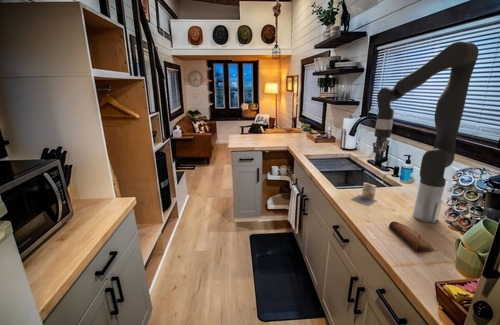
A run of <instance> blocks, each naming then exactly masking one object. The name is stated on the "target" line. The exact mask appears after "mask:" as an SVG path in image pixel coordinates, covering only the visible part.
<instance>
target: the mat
mask: <svg viewBox="0 0 500 325" xmlns="http://www.w3.org/2000/svg"><path fill="white" fill-rule="evenodd" d="M350 201H353V202H355V203H357V204H361V205H363V206H366V207H369V206H371V205H373V204H374V203H377V202H378V199H377V200H376V199H374V200H370V199H367V198H365V197H362V194H358V195H357V196H355V197H353V198H351V199H350Z"/></svg>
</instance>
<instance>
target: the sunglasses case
mask: <svg viewBox="0 0 500 325" xmlns="http://www.w3.org/2000/svg"><path fill="white" fill-rule="evenodd" d="M388 227H389V229H391V230H393V232H395V233H396V234H398V235H399V236H400V238H402V239H403V240H404V241H405V242H406V243H407V244H408V245H409V246H410V247H411V248H412V249H413V250H415V251H416V252H417V253H418V254H420V253H432V252H436V251H435V249H434V248H433V246H432V245H430V243H429V242H427V240H425V238H424V237H422V236H421V234H420V233H418V232H417V231H416V230H414V229H413V228H411V227H409V226H407V225H405V224H403V223H400V222H397V221H395V220H393V221H391V222H389V225H388Z"/></svg>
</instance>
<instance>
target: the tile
mask: <svg viewBox="0 0 500 325" xmlns="http://www.w3.org/2000/svg"><path fill="white" fill-rule="evenodd" d="M362 184H363V185H362V193H361V195H362V197H365V198H367V199H370V200H375V194H376V189H377V185H375V184H372V183H369V182H363V183H362Z"/></svg>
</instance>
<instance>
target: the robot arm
mask: <svg viewBox="0 0 500 325" xmlns="http://www.w3.org/2000/svg"><path fill="white" fill-rule="evenodd" d="M478 57H479V47H478V45H476V43H473V42H471V41H470V42H469V41H468V42H467V41H456V42H453V43H451V44H450V45H449V44H448V46H447V47H445V48H444V49H442V50H441V51H440V52H439V53H438V54H437V55H435V56H434V57H432V58H431V59H430V60H428V61H427V62H426V63H424V64H423V65H422V66H420V67H418V68H417V69H415V70H414V71H412V72H410V73H409V74H407V75H405V76H404V77H402V78H400V79H399V80H397V82H396V84H395V85H393V86H392V87H382V88H381V89H379V91H378V92H377V96H376V101H377V102H376V103H377V109H378V112H377V119H376V123H375V129H374V137H376V140H375V142H373V143H372V149H373V153H375V154H374V155H375V156H374V160H375V161H378V162H379V161H380V160H383V159H384V155H385V152H386V151H387V149H388V146H389V143H390V139H389V138H391V136H392V130H393V129H392V128H393V123H394V122H393V119H394V113H395V110H394V107H391V103H392V102H393V103H394V102H396V101H398V100H400V99H402V97H403V96H405V95H406V94H408V93H410V92H412V91H413V90H415V89H418V88H419V87H420V86H422V85H423V84H424V83H425V82H427V81H428V80H429V79H430V78H432V77H434V76H436V74H439V73H441V72H444V71H445V70H448V69H450V72H449V77H448V81H447V84H446V85H445V87H444V89H443V90H442V92H441V94H440V95H439V98H438V99H437V103H436V106H435V111H434V125H435V131H436V132H435V133H436V138H435V142H434V146H433V148H432V149H429V150H427V151H425V152H424V154H423V155H422V158H421V163H420V168H419V178H420V180H419V185H418V190H417V194H416V199H415V202H414V203H415V204H414V209H413V212H412V216H413V217H414V218H415V219H417V220H419V221H423V222H424V223H425V222H426V223H431V224H435V223H436V222H437V221H439V220H438V219H439V216H440V213H441V209H442V206H443V205H442V203H443V194H444V190H445V186H446V182H447V180H446V178H445V177H444V176H445V172H446V171H445V170H446V168H449V167H450V166H451V165H452V164H453V162H454V160H455V152H456V144H457V137H458V132H459V129H460V125H461V122H462V118H463V114H464V109H465V106H466V105H465V104H466V100H467V95H468V91H469V86H470V81H471V79H472V74H473V71H474V69H475V66H476V63H477V61H478Z"/></svg>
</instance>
